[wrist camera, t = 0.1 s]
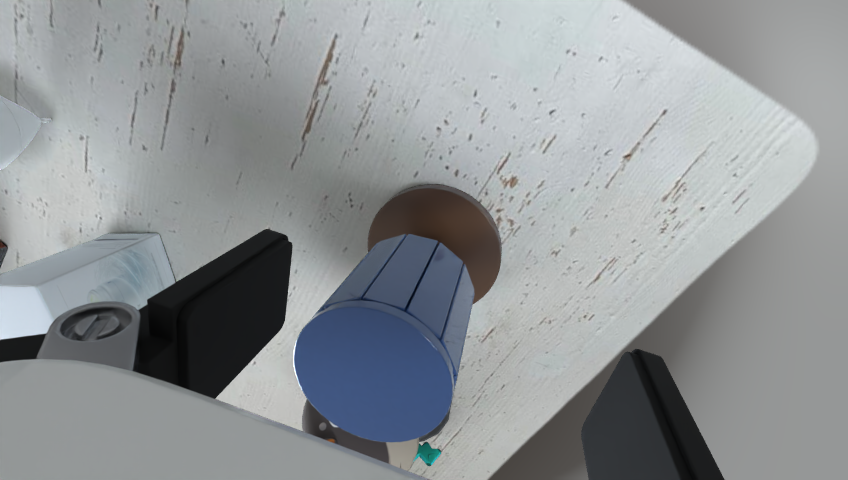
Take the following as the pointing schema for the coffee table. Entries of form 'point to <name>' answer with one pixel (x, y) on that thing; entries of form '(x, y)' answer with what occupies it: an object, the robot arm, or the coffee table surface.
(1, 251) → the radio
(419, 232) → the towel holder
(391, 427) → the cup
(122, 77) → the coffee table surface
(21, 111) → the spinning top
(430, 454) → the figurine
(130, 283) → the cosmetics box
